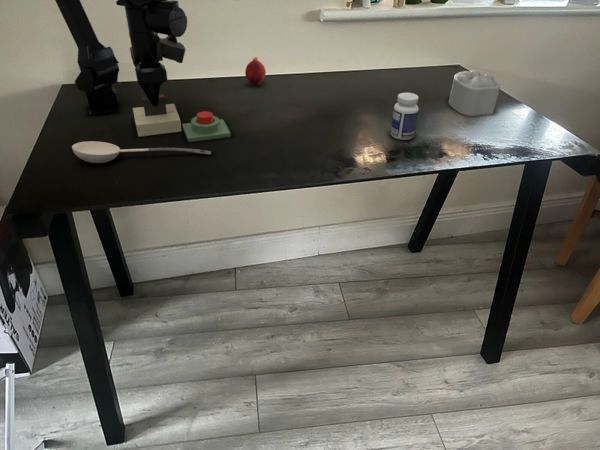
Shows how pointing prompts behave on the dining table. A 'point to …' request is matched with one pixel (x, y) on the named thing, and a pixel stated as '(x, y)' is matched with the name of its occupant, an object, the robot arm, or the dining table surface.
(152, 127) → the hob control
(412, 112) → the pill bottle
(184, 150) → the ladle
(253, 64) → the onion
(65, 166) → the dining table surface
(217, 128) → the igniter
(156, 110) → the hob knob
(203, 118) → the button
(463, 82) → the lumpy-topped squat cylinder
